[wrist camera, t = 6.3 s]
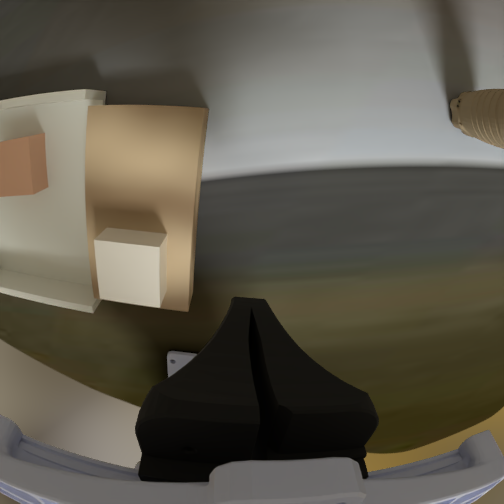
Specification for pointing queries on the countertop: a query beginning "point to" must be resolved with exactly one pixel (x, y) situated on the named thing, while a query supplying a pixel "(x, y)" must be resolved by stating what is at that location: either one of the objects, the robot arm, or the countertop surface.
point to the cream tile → (131, 266)
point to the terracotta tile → (23, 166)
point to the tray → (49, 204)
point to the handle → (480, 115)
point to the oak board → (147, 183)
